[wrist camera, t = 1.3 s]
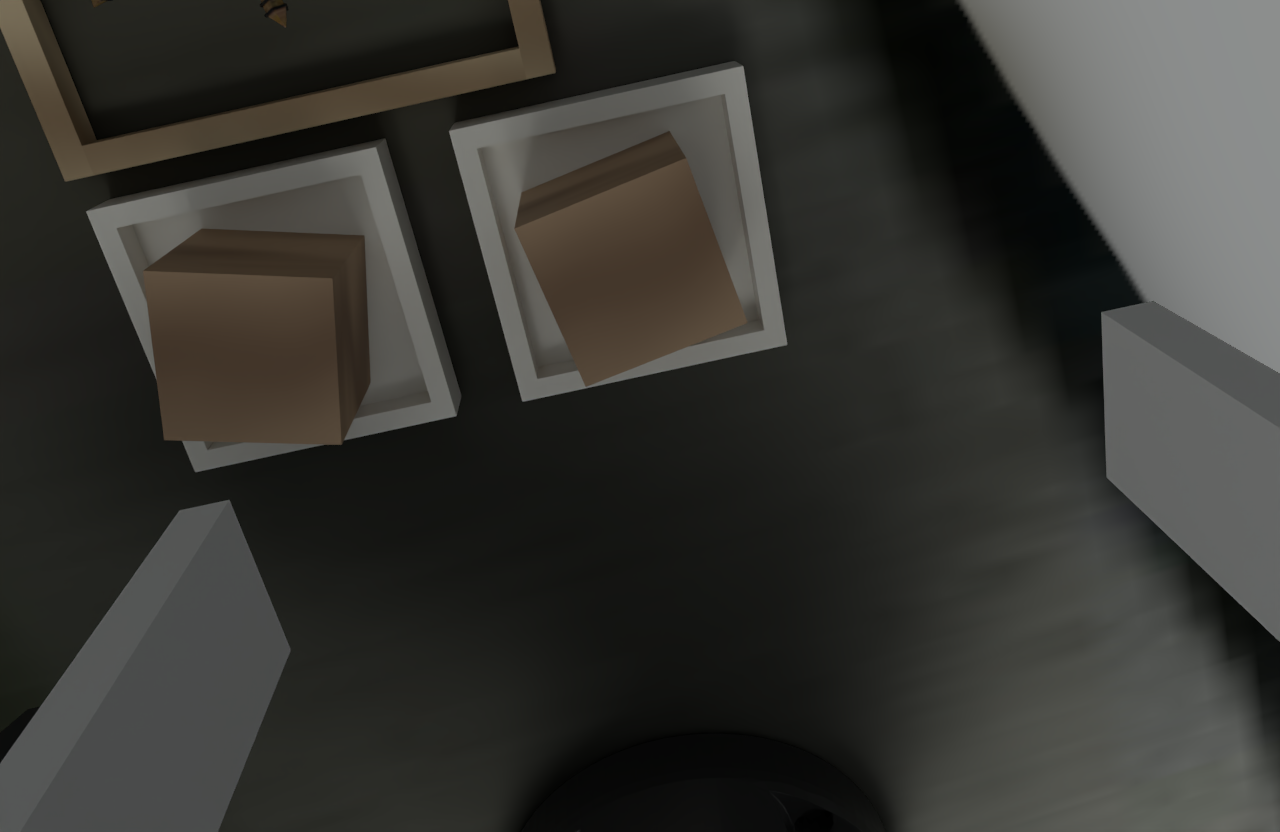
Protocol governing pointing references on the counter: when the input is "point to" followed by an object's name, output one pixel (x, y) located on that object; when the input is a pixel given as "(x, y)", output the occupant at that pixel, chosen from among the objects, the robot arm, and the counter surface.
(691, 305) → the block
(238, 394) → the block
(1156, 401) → the robot arm
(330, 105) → the oak frame
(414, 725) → the counter surface
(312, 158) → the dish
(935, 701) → the counter surface
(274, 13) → the game die
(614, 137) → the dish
